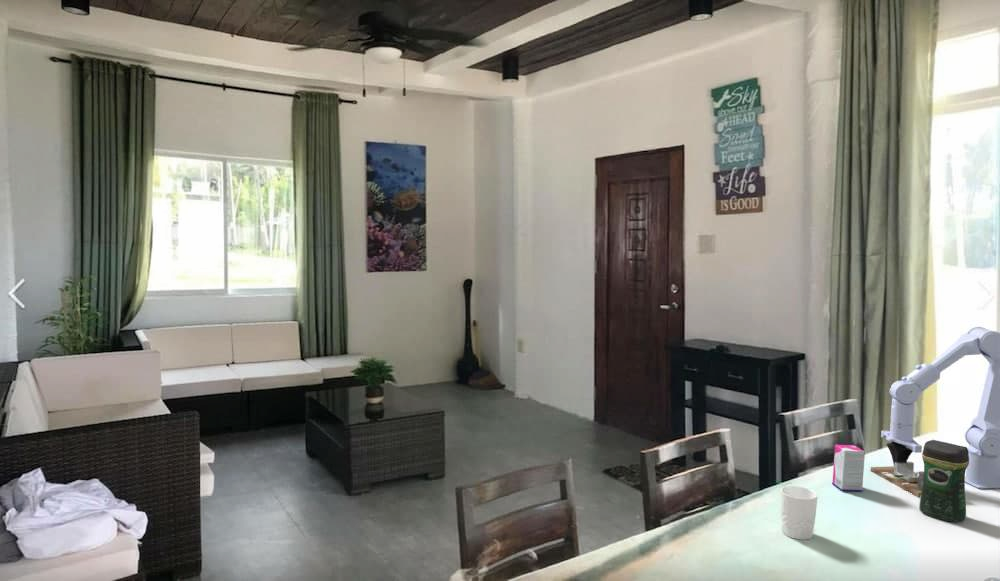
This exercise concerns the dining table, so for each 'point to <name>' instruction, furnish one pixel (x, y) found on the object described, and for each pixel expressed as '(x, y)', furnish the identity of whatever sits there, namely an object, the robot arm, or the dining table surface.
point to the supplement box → (848, 468)
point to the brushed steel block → (905, 471)
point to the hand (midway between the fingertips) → (899, 468)
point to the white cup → (798, 512)
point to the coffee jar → (944, 480)
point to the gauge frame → (900, 479)
